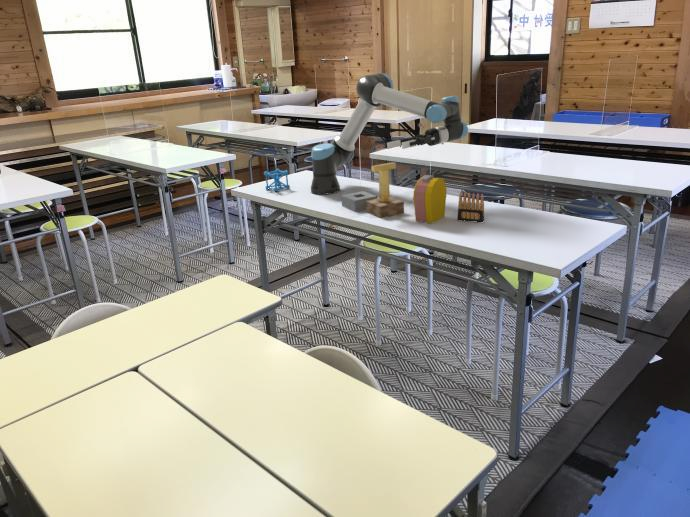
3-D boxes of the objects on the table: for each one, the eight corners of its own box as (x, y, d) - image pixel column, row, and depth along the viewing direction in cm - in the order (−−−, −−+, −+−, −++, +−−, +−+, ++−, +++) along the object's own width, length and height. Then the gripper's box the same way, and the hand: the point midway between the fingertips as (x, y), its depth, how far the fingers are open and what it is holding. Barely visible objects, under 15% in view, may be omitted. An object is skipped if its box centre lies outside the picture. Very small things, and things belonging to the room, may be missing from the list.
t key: (372, 213, 239) (370, 165, 231) (393, 209, 244) (392, 162, 236) (376, 215, 236) (374, 166, 228) (397, 210, 241) (396, 163, 233)
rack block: (341, 205, 254) (341, 195, 252) (363, 201, 259) (363, 191, 257) (355, 211, 244) (354, 200, 242) (377, 206, 249) (377, 196, 247)
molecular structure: (279, 186, 297) (278, 168, 294) (290, 188, 290) (289, 170, 287) (264, 189, 291) (262, 171, 287) (275, 192, 284) (273, 173, 280)
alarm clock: (428, 212, 236) (429, 171, 230) (446, 215, 232) (446, 172, 225) (412, 222, 225) (412, 178, 218) (430, 224, 221) (430, 180, 214)
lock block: (366, 211, 242) (365, 201, 240) (388, 207, 248) (388, 196, 246) (381, 218, 232) (380, 206, 231) (403, 212, 238) (403, 201, 236)
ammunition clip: (457, 220, 224) (457, 192, 220) (458, 219, 226) (459, 191, 221) (482, 222, 219) (484, 194, 215) (484, 221, 221) (485, 192, 216)
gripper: (452, 144, 233) (410, 154, 226) (422, 144, 255) (383, 154, 248) (450, 126, 231) (407, 136, 224) (420, 128, 253) (380, 137, 246)
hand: (394, 145), depth 236 cm, fingers open, 13 cm apart
